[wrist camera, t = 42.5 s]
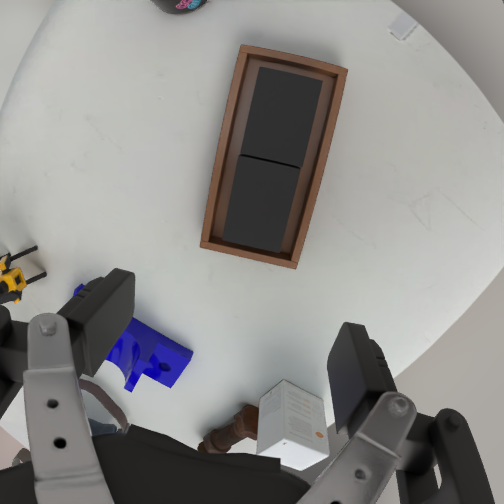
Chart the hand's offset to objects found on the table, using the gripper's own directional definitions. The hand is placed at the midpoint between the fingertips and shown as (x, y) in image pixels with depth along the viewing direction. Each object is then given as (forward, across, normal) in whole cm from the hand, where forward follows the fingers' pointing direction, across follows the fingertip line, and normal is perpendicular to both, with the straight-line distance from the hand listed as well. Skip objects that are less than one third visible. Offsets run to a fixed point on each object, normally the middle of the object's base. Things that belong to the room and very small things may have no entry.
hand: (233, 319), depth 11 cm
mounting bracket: (+22, +14, +23) cm, 35 cm away
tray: (+22, 0, -4) cm, 22 cm away
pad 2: (+22, 0, 0) cm, 22 cm away
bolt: (+22, -3, +38) cm, 44 cm away
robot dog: (+22, +31, +16) cm, 41 cm away
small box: (+22, -11, +28) cm, 37 cm away
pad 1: (+22, 0, -8) cm, 23 cm away
